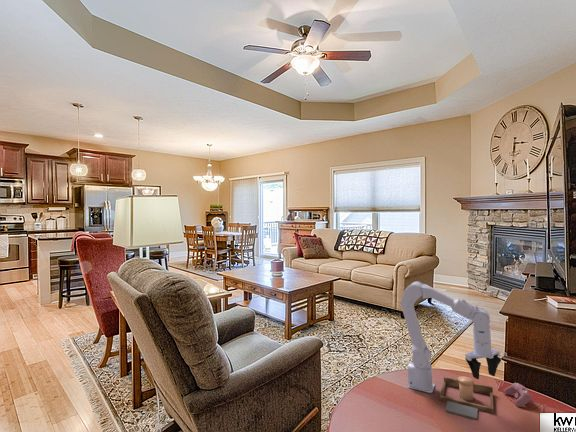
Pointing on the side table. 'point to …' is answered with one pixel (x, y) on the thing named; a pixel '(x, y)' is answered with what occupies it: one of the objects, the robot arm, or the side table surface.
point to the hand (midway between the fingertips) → (483, 376)
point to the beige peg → (466, 388)
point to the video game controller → (519, 394)
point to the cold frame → (476, 388)
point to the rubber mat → (462, 410)
